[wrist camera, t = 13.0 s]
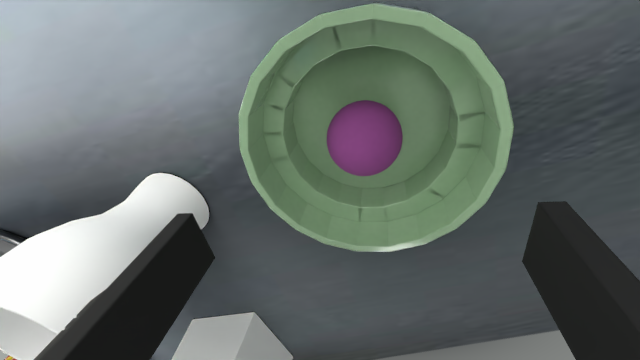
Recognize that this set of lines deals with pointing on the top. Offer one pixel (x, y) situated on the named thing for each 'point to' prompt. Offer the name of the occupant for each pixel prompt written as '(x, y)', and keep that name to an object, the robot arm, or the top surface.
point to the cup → (82, 261)
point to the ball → (364, 138)
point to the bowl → (403, 100)
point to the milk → (230, 340)
